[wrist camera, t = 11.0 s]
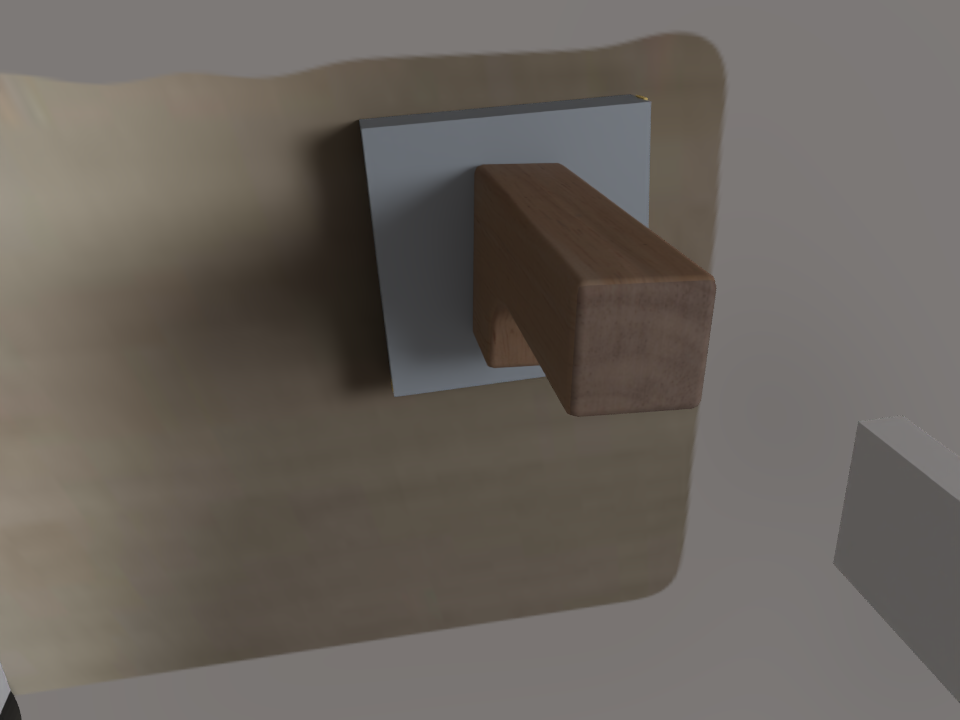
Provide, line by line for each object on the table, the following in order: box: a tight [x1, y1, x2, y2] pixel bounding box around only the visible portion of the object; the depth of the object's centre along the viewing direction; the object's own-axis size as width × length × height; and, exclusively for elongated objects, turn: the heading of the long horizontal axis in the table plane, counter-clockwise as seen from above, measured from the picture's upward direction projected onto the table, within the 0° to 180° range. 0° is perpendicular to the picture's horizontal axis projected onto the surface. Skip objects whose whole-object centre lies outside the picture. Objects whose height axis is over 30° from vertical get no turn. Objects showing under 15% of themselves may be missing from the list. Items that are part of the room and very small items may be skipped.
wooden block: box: [473, 163, 716, 417], centre depth 34 cm, size 9×4×18 cm, turn 179°
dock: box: [359, 94, 651, 397], centre depth 43 cm, size 14×14×3 cm
